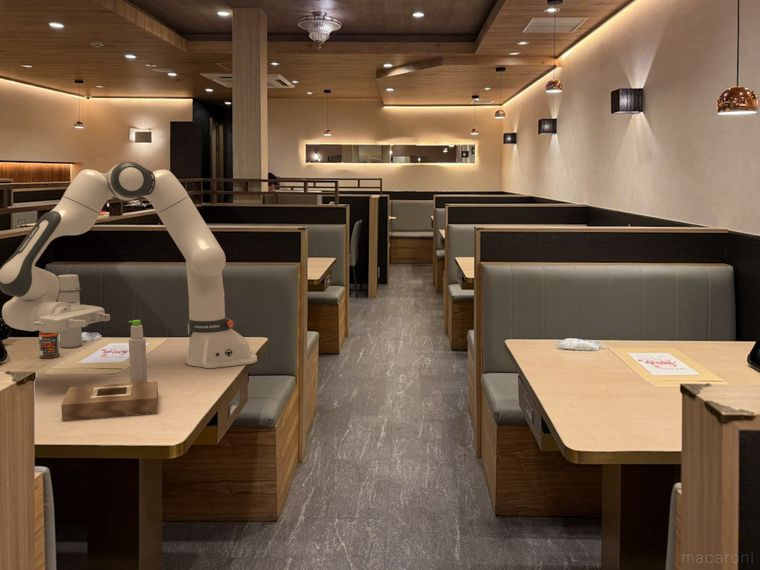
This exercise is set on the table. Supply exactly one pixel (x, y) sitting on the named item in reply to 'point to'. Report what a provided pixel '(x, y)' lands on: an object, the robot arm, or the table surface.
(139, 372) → the bottle
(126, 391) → the socket board
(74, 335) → the water bottle
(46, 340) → the supplement bottle
